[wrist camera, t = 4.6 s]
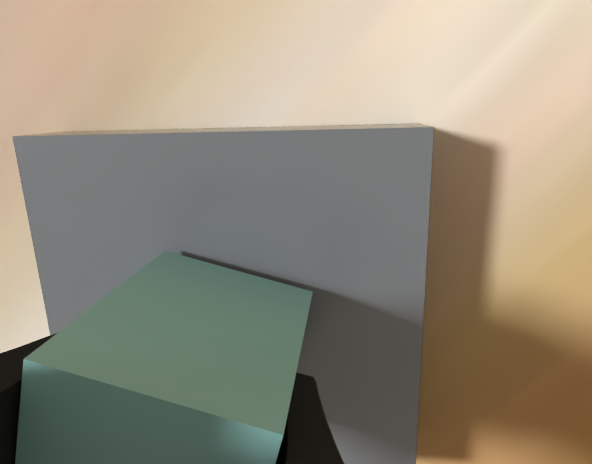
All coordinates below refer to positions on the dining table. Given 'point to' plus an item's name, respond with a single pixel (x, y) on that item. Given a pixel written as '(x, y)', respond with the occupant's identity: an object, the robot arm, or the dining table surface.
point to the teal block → (167, 371)
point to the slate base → (259, 242)
